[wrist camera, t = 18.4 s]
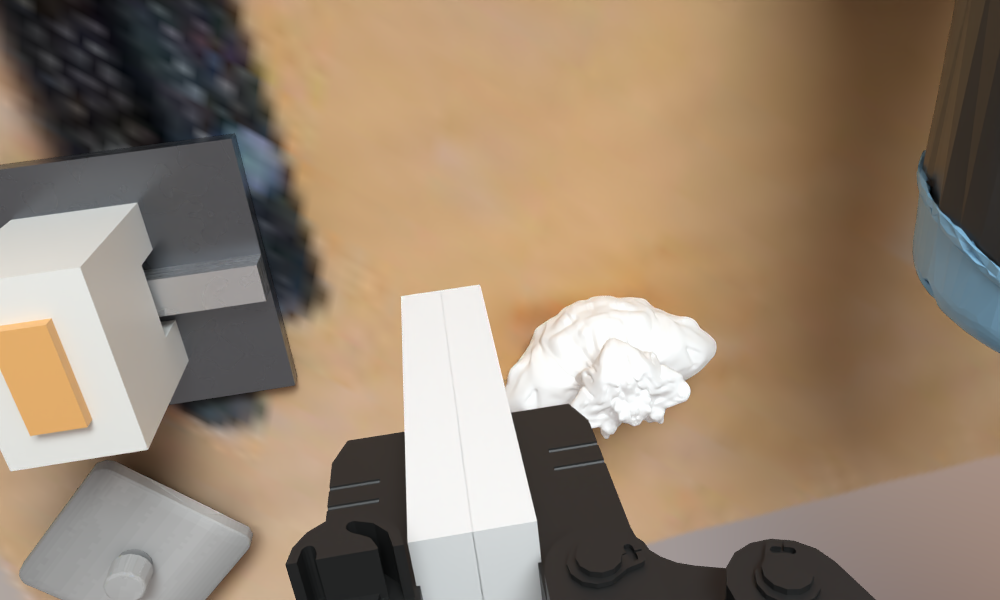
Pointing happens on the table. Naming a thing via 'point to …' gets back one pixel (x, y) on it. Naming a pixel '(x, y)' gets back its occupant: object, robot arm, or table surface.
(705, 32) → the table surface
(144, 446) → the block
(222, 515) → the light switch
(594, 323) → the bust
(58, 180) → the mounting plate
